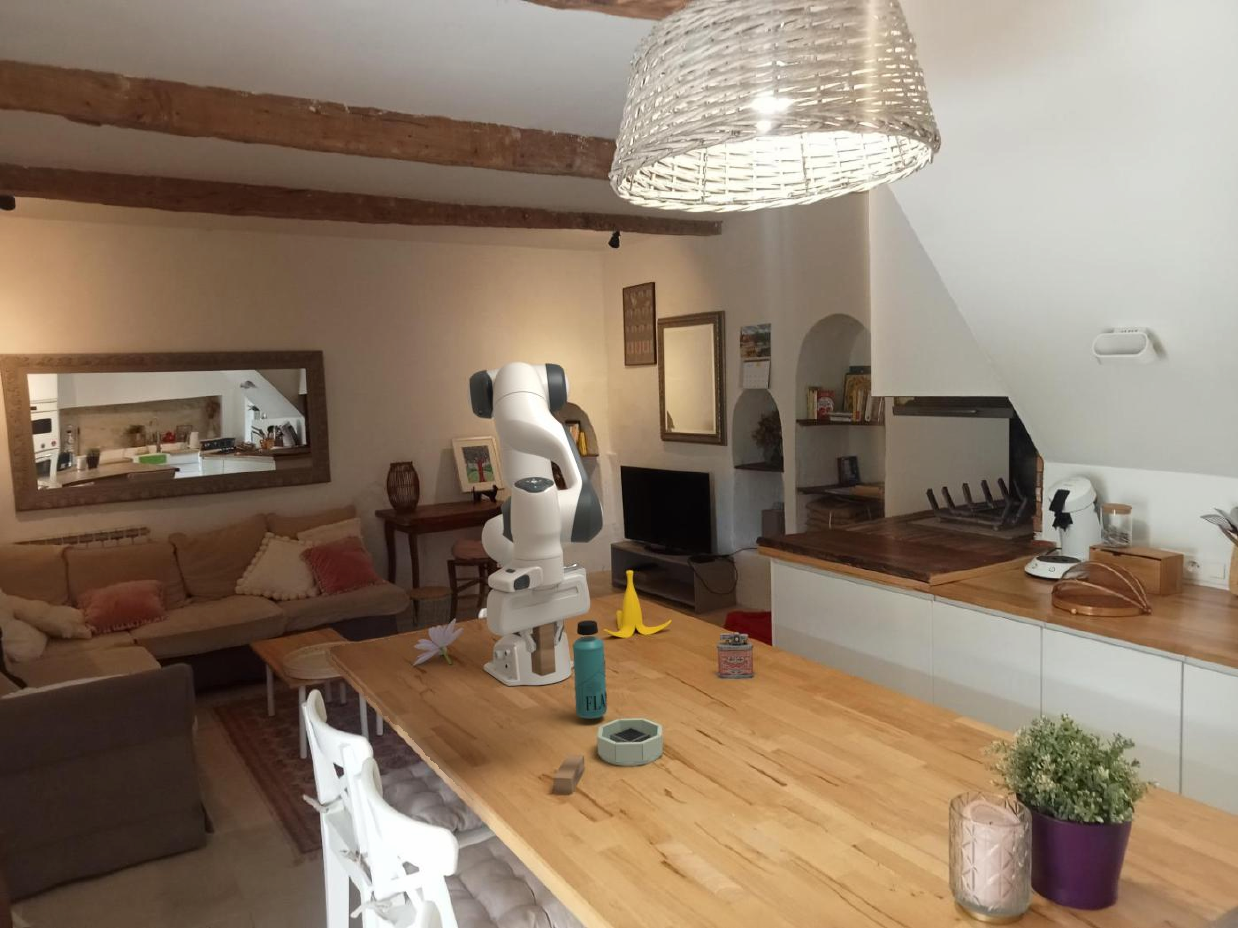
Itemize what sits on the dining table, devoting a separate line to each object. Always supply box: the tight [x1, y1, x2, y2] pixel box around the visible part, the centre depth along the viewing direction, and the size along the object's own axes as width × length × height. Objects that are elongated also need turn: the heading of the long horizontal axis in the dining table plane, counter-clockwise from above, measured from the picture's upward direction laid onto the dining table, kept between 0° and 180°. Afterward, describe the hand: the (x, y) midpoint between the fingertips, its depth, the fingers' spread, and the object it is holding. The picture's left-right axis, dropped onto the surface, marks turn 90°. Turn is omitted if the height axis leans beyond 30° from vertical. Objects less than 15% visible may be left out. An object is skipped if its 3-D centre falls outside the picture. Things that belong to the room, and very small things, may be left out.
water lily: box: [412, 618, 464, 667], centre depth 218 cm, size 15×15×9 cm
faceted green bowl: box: [596, 717, 664, 767], centre depth 162 cm, size 12×12×4 cm
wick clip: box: [610, 727, 651, 743], centre depth 162 cm, size 5×5×2 cm
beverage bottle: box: [572, 619, 608, 719], centre depth 177 cm, size 6×7×20 cm
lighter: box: [716, 631, 755, 680], centre depth 199 cm, size 8×3×10 cm, turn 84°
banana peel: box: [602, 569, 673, 639], centre depth 235 cm, size 17×19×17 cm
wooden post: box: [530, 622, 556, 676], centre depth 157 cm, size 3×3×9 cm
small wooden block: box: [553, 753, 586, 795], centre depth 152 cm, size 9×3×3 cm, turn 169°
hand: (542, 648), depth 157 cm, fingers closed on wooden post, 3 cm apart
